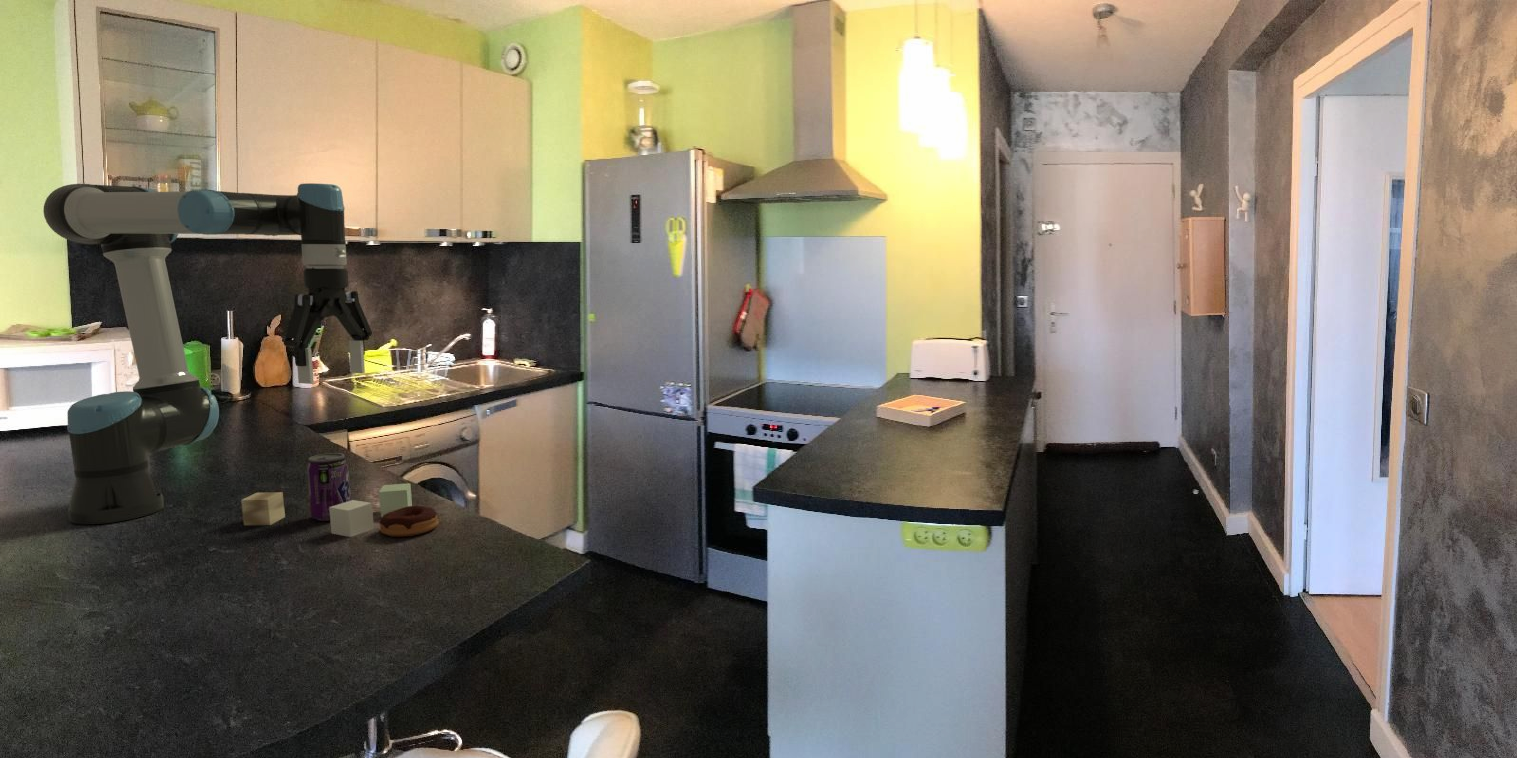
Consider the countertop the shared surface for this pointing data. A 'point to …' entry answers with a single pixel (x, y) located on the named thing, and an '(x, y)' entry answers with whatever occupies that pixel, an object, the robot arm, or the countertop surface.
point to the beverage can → (327, 483)
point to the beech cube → (263, 508)
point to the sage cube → (394, 497)
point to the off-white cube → (351, 518)
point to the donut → (409, 521)
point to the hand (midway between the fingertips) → (333, 378)
